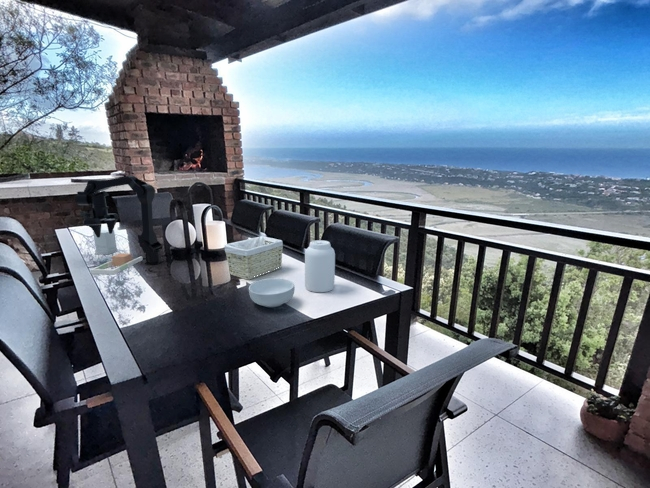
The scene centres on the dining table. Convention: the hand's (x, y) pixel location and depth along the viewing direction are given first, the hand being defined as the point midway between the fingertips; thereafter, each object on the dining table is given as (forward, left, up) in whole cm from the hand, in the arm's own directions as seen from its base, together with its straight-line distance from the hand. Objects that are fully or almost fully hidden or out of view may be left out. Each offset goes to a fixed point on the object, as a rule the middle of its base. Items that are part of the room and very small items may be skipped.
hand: (104, 235), depth 171 cm
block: (-11, +5, -14) cm, 18 cm away
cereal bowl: (-95, +47, -14) cm, 107 cm away
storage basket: (-80, +11, -14) cm, 82 cm away
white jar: (-112, +30, -14) cm, 117 cm away
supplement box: (+11, -15, -14) cm, 23 cm away
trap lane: (-11, +8, -14) cm, 19 cm away
